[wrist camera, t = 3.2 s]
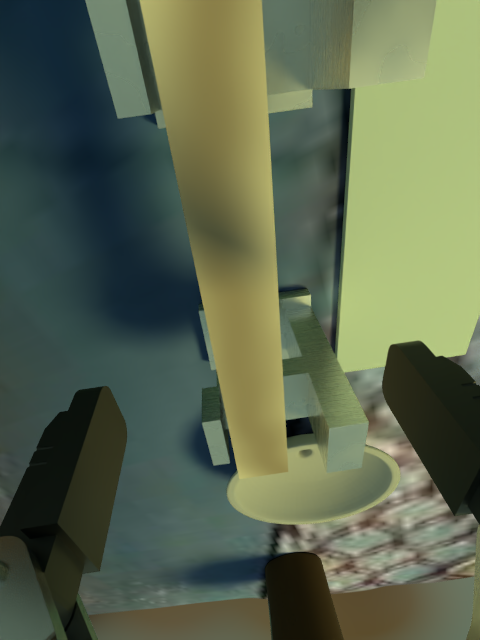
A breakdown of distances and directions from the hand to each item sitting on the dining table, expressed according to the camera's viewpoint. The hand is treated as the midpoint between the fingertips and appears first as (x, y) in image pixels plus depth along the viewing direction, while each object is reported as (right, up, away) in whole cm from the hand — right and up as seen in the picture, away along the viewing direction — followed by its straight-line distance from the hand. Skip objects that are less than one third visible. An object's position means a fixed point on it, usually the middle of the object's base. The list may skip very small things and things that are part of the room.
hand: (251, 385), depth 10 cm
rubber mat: (+13, +10, +13) cm, 21 cm away
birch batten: (-1, +4, +6) cm, 7 cm away
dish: (+7, -12, +28) cm, 31 cm away
